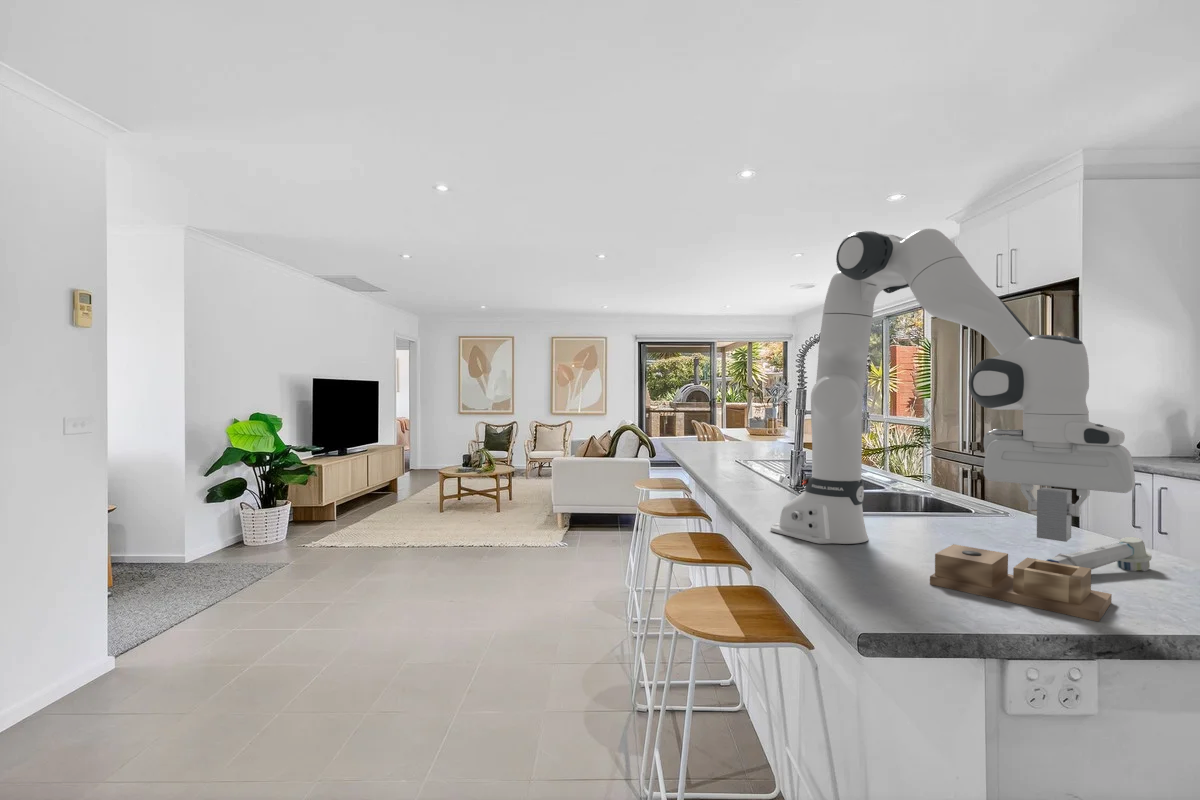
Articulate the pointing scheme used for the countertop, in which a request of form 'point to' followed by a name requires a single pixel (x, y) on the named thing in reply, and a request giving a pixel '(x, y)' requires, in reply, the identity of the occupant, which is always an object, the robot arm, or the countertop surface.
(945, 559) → the holder
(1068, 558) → the white handle
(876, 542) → the countertop surface
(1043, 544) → the countertop surface
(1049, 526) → the grey rectangular block
